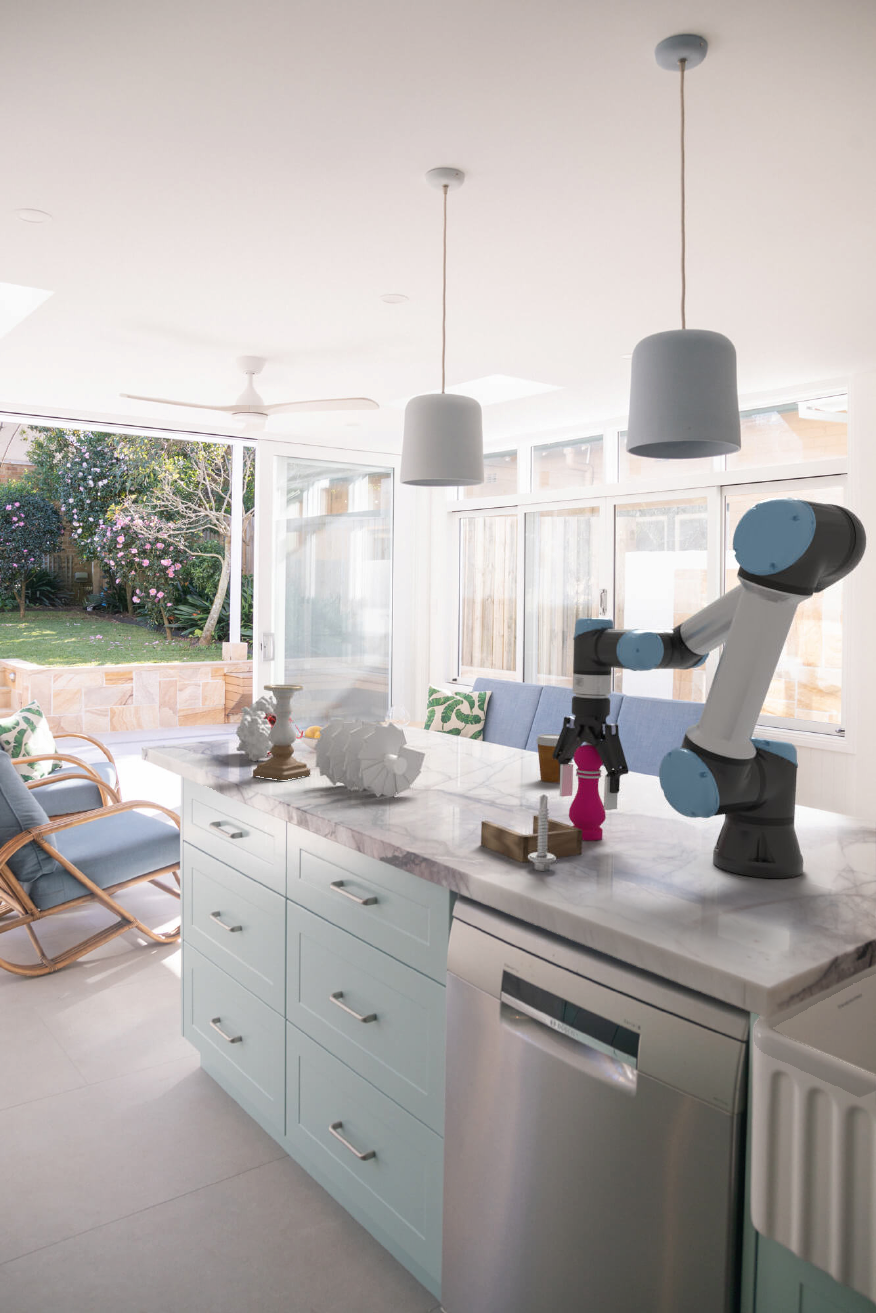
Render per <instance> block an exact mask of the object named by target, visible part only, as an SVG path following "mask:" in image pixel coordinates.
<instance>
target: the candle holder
mask: <svg viewBox="0 0 876 1313" xmlns="http://www.w3.org/2000/svg"><path fill="white" fill-rule="evenodd" d="M263 690H265V691H266V692H267V691H268V692H272V696H273V697H274V699H275V701H276V706H275V708H274V709H273V712H275V715H276V722H275V724H274V726H273V727H272V729H271V731H270V732H269V736H268V738H269V741H270V742H271V743H272V744H274V746H273V747H272V748H271V755H272V756H271V757H270V758H268V759H267V760H266V761H264V762H260V763H258V764H257V765H256V768H255V769H252V777H253V776H260V777H264V778H272V779H277V780H288V779H292V778H298V777H302V776H308V777H310V776H311V769H310V768H309V767H308V765H307V763H306V762H301V761H298V760H297V759H296V758H295V757H293V756H292V755H293V754H294V753H295V749H294V748H293V746H292V744H294V743H295V742H296V741H297V738H296V737H298V735H297V732H296V730H295V729H294V727H293V725H292V723H290V721H291V720H290V721H289V717H290V718H291V715H292V713H293V711H294V709H293V708H292V706H291V699H292V698H293V697H294V694H295V692H301V691H303V690H304V687H303V686H302V685H298V684H267V685H264V686H263ZM296 735H297V736H296ZM309 775H310V776H309Z"/></svg>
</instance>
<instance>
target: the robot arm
mask: <svg viewBox="0 0 876 1313" xmlns="http://www.w3.org/2000/svg"><path fill="white" fill-rule="evenodd" d="M732 538H733V539H732V551H734V552H735V554H734V557H735V561H736V562H737V563H738V564H739V568H738V570H737V574H736V578H737V579H738V581H739V582H740V583H739V584H737V585H736V586H735V587H733V588H732V589H730V590H729V591H727V592H726V593H723V595H722V596H720V597H719V598H717V599H715V600H714V601H713V602H711V603H710V604H708V605H707V606H705V607H703V608H702V609H700V610H699V611H697V612H696V613H694V614H693V615H692V616H690V617H688V618H687V619H686V620H684V621H683V622H681V623H680V624H678V625H677V626H675V627H673V628H671V629H644V628H643V629H638V628H633V629H628V628H626V629H623V628H622V629H619V628H615V627H614V621H613V619H611V618H602V617H601V618H599V617H579V618H577V619H576V621H575V623H574V633H573V655H572V656H573V659H572V660H573V663H572V665H573V666H572V674H573V675H572V691H571V692H572V693H573V694H574V695H573V697H571V714H572V715H573V716H564V717H563V723H562V728H561V731H560V736H559V739H558V741H557V744H556V747H555V750H554V752H553V755H552V757H553V759H556V760H558V763H559V778H560V783H559V796H560V797H563V798H564V797H571V796H573V784H574V782H573V780H574V778H573V777H574V763H573V760H574V753H575V751H576V750H577V748H579V747H580V746H582V745H584V744H583V743H585V742H587V743H589V744H592V745H593V746H594V747H595V748H596V749H597V751H598V753H599V756H600V758H601V760H602V762H603V767H604V769H605V770H606V774H605V775H604V788H603V789H604V791H603V792H604V793H603V794H604V795H603V805H604V810H605V811H611V810H617V809H618V794H619V793H620V786H621V785H620V783H621V782H620V780H621V776H624V775H627V774H629V767H628V764H627V761H626V757H625V753H624V749H623V746H622V742H621V739H620V732H619V724H618V723H608V722H607V718H608V717H609V716H610V714H611V699H610V697H608V696H610V695H611V694H612V668H614V669H621V670H622V669H623V670H630V671H633V672H637V671H638V672H644V671H651V670H660V669H661V670H667V669H668V670H683V671H684V670H690V669H696V668H699V667H702V665H704V664H705V663H706V661H707V659H708V658H709V656H710V652H712V651H714V650H716V649H717V648H719V647H720V646H722V645H723V644H724V645H723V648H722V652H721V655H720V657H719V662H718V664H717V666H716V670H715V673H714V676H713V679H712V682H711V685H710V688H709V691H708V694H707V698H706V700H705V703H704V706H703V709H702V711H701V715H700V717H699V721H698V723H695V724H693V725H691V726H689V727H687V728H686V731H685V735H684V738H683V740H682V743H681V746H680V747H675V748H674V749H672V750H670V751H668V752H667V753H666V754H665V755H664V756H663V757H662V760H661V762H660V764H659V765H660V766H659V771H658V777H659V778H658V779H659V784H660V789H661V790H662V792H663V796H664V798H665V800H666V801H667V803H668V804H669V805H670V807H671V808H672V809H674V811H675V812H677V813H678V814H680V815H681V816H684V817H687V818H692V819H693V818H695V819H696V818H702V819H709V818H712V817H716V816H723V815H724V822H723V825H722V826H721V829H720V832H719V834H718V838H717V840H716V844H715V845H714V847H713V850H712V852H713V853H712V862H713V863H712V864H713V865H715V866H716V867H718V868H720V869H722V870H725V871H727V872H730V873H732V874H733V873H734V874H739V875H742V876H747V877H755V878H765V879H786V878H787V879H788V878H789V879H790V878H794V877H798V876H800V875H802V874H803V873H804V857H803V855H802V853H801V852H802V851H801V848H800V844H799V839H798V836H797V833H796V829H795V828H796V827H795V815H796V798H797V796H796V794H797V793H796V792H797V775H798V774H797V773H798V768H799V764H798V752H797V748H796V746H795V745H794V744H792V743H791V742H788V741H782V740H774V739H768V738H762V737H754V736H753V734H754V731H755V729H756V726H757V723H758V720H759V718H760V714H761V711H762V708H763V706H764V703H765V700H766V696H767V694H768V692H769V689H770V687H771V682H772V680H773V677H774V674H775V672H776V669H777V665H778V663H779V660H780V657H781V656H782V655H781V654H782V653H783V652H782V651H783V649H784V646H785V643H786V641H787V638H788V634H789V632H790V628H791V627H792V623H793V620H794V619H795V614H796V612H797V609H798V606H799V604H800V603H802V602H804V601H805V600H808V599H810V598H812V597H813V595H814V594H819V593H821V592H823V591H824V590H826V589H827V588H829V587H831V586H832V585H834V584H836V583H838V582H839V581H841V580H842V579H843V578H845V577H846V576H847V575H849V574H850V573H852V572H853V571H854V570H855V569H856V567H857V566H858V565H859V564H860V562H861V561H862V559H863V557H864V554H865V551H866V547H867V534H866V530H865V527H864V525H863V523H862V521H861V519H860V518H859V517H858V516H857V515H856V514H855V513H854V512H852V511H851V510H849V509H848V508H846V507H844V506H841V505H837V504H832V503H821V502H815V501H810V500H804V499H799V498H792V497H784V498H781V497H775V498H768V499H764V500H761V501H760V502H758V503H756V504H754V505H753V506H752V507H750V508H749V509H748V510H747V511H746V512H745V513H744V514H743V516H742V517H741V518H740V520H739V521H738V524H737V525H736V527H735V529H734V534H733V537H732ZM559 752H561V753H559Z"/></svg>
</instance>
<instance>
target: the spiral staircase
mask: <svg viewBox="0 0 876 1313" xmlns="http://www.w3.org/2000/svg"><path fill="white" fill-rule="evenodd" d="M318 732H319V735H320V736H319V738H318V740H317V741H316V743H315V744H314V746H313V750H315V751H316V756H315V757H316V758H315V765H314V766H315V767H316V768H318V769H319V775H320V776H321V777H323V776H325V777H326V778H327V779H328V780H329V781H330V782H331V783H332V785H333V786H336V784H337V783H339V784H343V785H344V786H345V787H346V788H348V790H349V789H352V790H353V789H354V788H358V790H359V792H363V791H364V789H365V790H368V791H370V792H373V793H374V794H375V795H376V797H377V798H380V797H381V795H385V796H389V797H392V796H395V797H396V795H397V794H401V793H403V792H405V791H407V790H409V789H411V785H412V784H413V783H415V781H416V780H417V778H418V777H419V776H420V775H421V773H422V771H421V769H422V766H423V763H424V759H425V755H426V753H425V752H423V751H422V752H421V751H418V750H415V749H412V748H408V747H404V746H405V745H407V744H408V743H407V739H406V737H405V733H404V729H403V728H400V729H399V728H398V727H396V726H395V725H394V724H393V723H392V722H389V723H388V725H383V724H382V723H381V722H380V721H379V719H376V720H375V722H374V723H373V722H367V721H363V720H362V719H360V718H359V717H356V718H355V720H353V719H351V718H350V717H349V716H348V715H346V714H345V715H343V718H330V722H329V723H328V724H326V725H325V726H323V727H322V728H320V729H318Z"/></svg>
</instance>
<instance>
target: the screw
mask: <svg viewBox="0 0 876 1313" xmlns="http://www.w3.org/2000/svg"><path fill="white" fill-rule="evenodd" d="M548 798H549V797H548V796H547V795H546V794H542V795H540V796H539V810H538V814H537V815H539V818H538V819H539V821H538V822H539V824H538V825H539V826H538V831H537V832H538V838H537V839H538V841H537V842H538V845H537V846H538V848H537V849H538V851H537V852H534V853H531V854H530V855H528V859H529V860H531V861H530V862H532V863H533V869H535V871H537V872H538V871H540V872H545V871H550V865H551V863H554V862H556V860H557V858H556V857H555V856H554V855H553V854H550V853H547V851H548V850H547V848H548V847H547V845H548V843H547V841H548V840H547V838H548V836H547V835H548V833H547V831H548V829H547V828H548V826H547V825H548V823H547V822H548V821H549V820H548V818H549V814H550V813H549V812H548V811H549V809H548V800H549V799H548Z"/></svg>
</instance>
